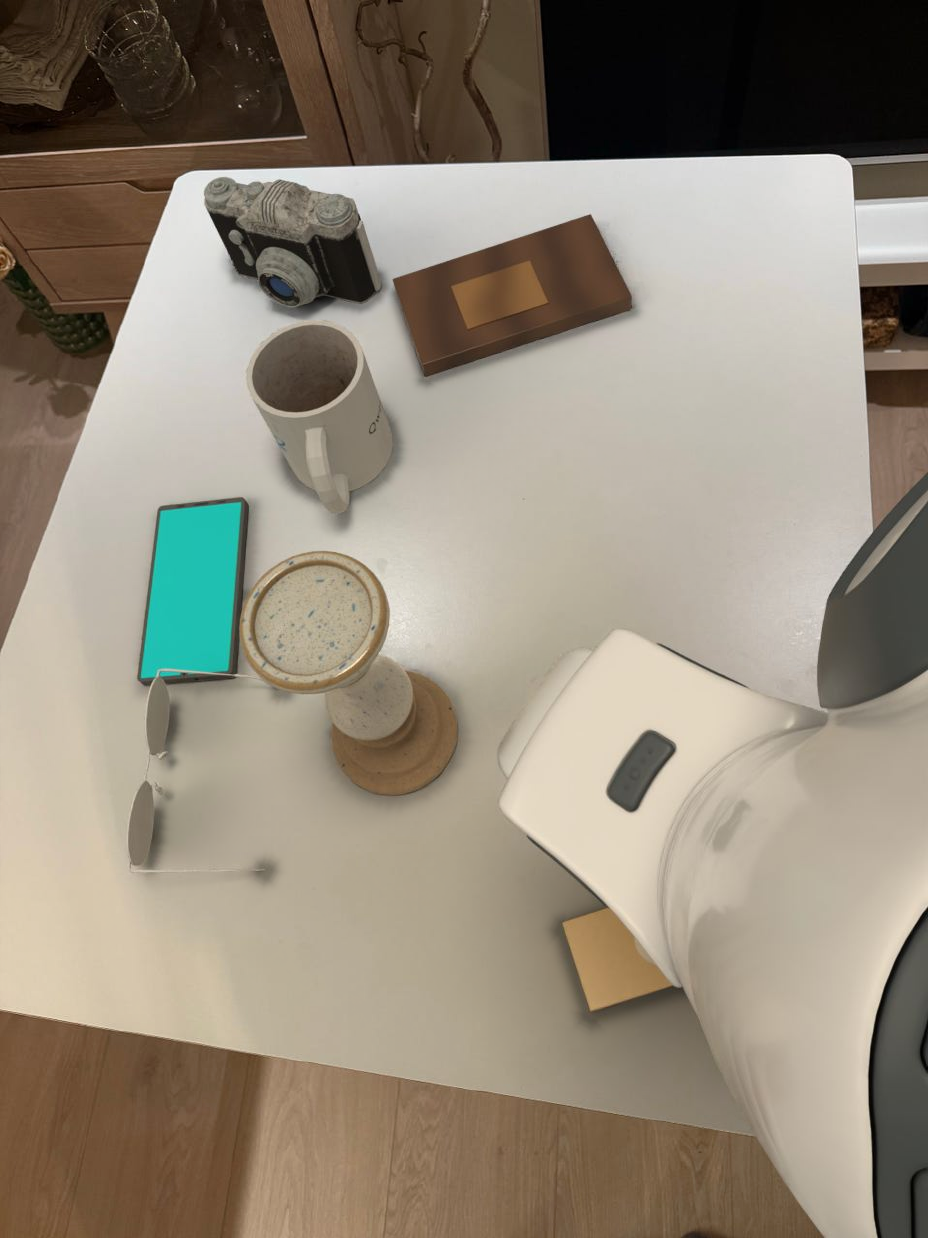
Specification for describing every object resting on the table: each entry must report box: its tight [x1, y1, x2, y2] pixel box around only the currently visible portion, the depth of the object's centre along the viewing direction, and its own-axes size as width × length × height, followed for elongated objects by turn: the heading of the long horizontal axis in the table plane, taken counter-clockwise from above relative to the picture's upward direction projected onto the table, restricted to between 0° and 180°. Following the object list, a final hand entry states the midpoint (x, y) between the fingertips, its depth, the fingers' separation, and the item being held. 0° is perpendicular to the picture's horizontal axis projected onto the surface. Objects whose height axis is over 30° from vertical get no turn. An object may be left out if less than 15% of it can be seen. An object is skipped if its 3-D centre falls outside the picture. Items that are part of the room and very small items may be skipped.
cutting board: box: [392, 213, 633, 377], centre depth 76 cm, size 18×10×2 cm, turn 106°
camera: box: [203, 176, 382, 309], centre depth 76 cm, size 15×7×10 cm, turn 67°
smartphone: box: [136, 496, 249, 686], centre depth 69 cm, size 7×1×15 cm
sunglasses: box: [125, 669, 281, 874], centre depth 61 cm, size 14×8×5 cm, turn 0°
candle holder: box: [239, 550, 459, 796], centre depth 53 cm, size 9×9×20 cm
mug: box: [245, 319, 394, 514], centre depth 68 cm, size 12×9×10 cm
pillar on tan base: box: [561, 907, 674, 1012], centre depth 50 cm, size 10×5×12 cm, turn 106°
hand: (738, 848), depth 37 cm, fingers open, 8 cm apart
